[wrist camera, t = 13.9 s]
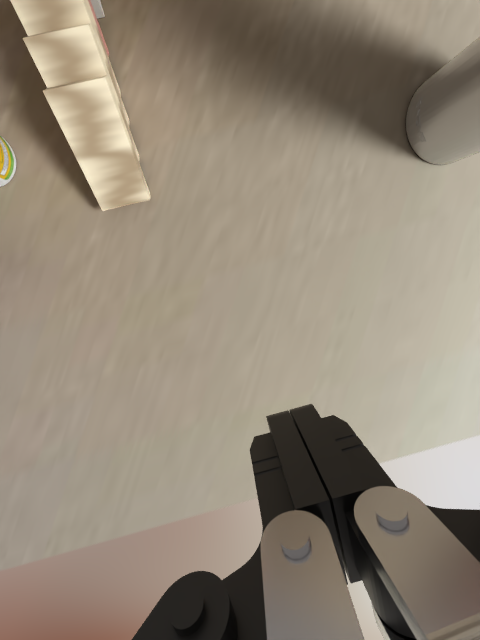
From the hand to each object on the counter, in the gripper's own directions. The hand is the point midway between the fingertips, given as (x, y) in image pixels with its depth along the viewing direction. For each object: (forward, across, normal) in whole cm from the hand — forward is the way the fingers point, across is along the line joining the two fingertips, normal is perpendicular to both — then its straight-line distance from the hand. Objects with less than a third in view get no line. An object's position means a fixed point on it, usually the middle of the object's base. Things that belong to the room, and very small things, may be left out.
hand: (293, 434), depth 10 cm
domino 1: (+26, +9, -13) cm, 30 cm away
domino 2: (+26, +8, -17) cm, 32 cm away
